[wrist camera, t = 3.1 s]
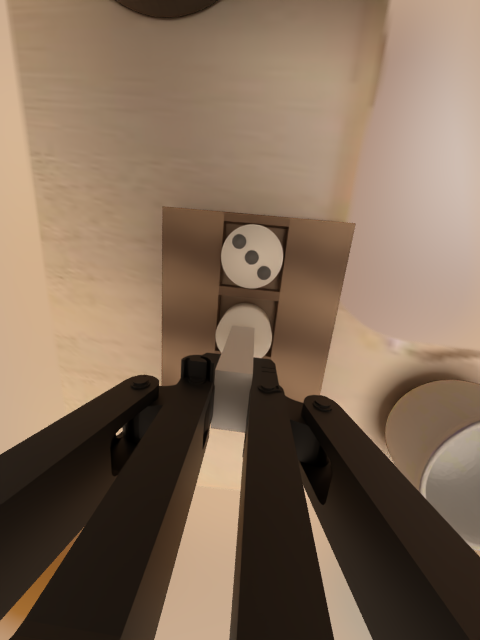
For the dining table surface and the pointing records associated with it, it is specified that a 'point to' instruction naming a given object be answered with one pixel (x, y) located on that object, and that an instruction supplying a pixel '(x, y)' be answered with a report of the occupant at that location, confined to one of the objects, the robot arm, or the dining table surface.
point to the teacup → (441, 450)
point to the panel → (253, 291)
